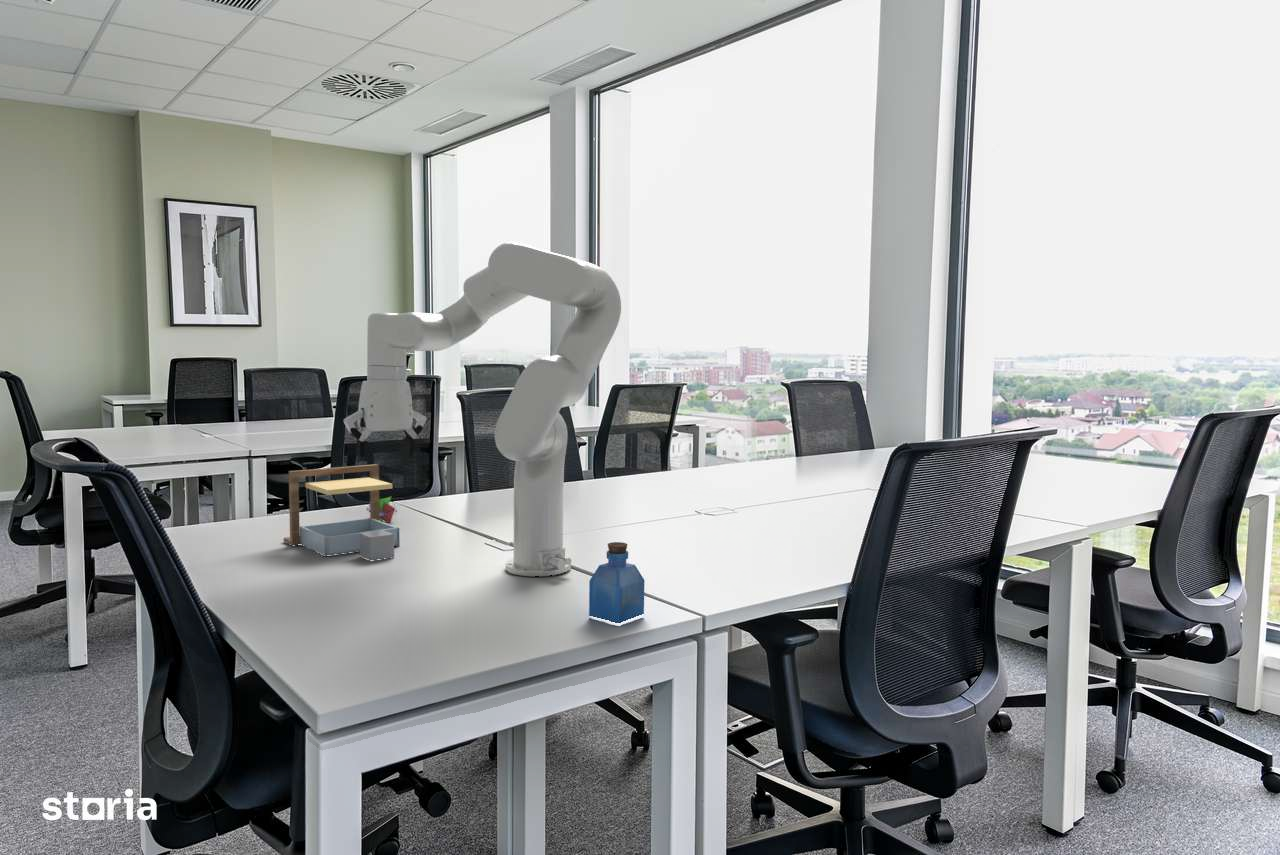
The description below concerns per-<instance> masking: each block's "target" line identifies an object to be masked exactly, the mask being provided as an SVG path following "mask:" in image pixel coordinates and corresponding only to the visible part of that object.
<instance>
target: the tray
mask: <svg viewBox="0 0 1280 855" xmlns="http://www.w3.org/2000/svg"><path fill="white" fill-rule="evenodd" d="M299 527H300V544H302V545H304V546H306V547H308V548H310V549H312V550H314V551H317V552H319V553H321V554H323V555H325V556H327V555H334V554H342V553H349V552H357V551H360V533H366V532H373V531H380V530H384V531H387V532H390V533H392V534H394V546H398V547H400V545H401V544H400V527H398V526H395V525H392V524H391V523H390V524H389V523H387V522H385V521H382V522H381V521H378V520H376V519H373V518H370V517H369V518H368V517H367V518H360V519H351V520H343V521H335V522H334V521H333V522H328V523H327V522H326V523H319V524H310V525H300V526H299ZM312 550H311V551H312ZM314 551H313V552H314Z"/></svg>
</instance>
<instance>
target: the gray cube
mask: <svg viewBox="0 0 1280 855" xmlns="http://www.w3.org/2000/svg"><path fill="white" fill-rule="evenodd" d="M360 556H362V557H364V558H367V559H369V560H377V559H384V558H391V557H394V558H395V547H394V534H392V533H390V532H387V531H384V530H380V531H373V532H366V533H360V552H359V557H360Z"/></svg>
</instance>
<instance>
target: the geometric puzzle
mask: <svg viewBox="0 0 1280 855" xmlns="http://www.w3.org/2000/svg"><path fill="white" fill-rule="evenodd" d="M391 499H392V502H394V501H393V500H394V499H393V497H392V495H391V496H386V497H382V498H379V518H380V521H382V522H385V523H387V522H388V523H387V524H389V523H390V524H391V522H392V521H393V520H394V519H393V516H396V514H397V513H398V510H397V508H396V504H395V503H393V506H392V505H390V502H391ZM365 509H366V511H368V513H367V514H368V515H369V516H370V502H369V503H368V506H367V507H366V508H365ZM383 520H384V521H383Z"/></svg>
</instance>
